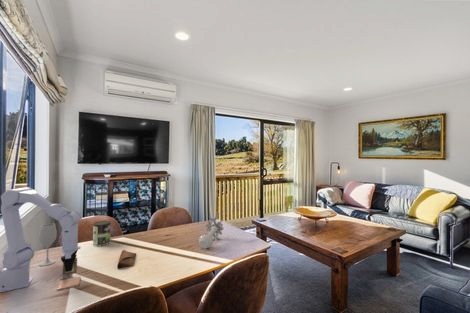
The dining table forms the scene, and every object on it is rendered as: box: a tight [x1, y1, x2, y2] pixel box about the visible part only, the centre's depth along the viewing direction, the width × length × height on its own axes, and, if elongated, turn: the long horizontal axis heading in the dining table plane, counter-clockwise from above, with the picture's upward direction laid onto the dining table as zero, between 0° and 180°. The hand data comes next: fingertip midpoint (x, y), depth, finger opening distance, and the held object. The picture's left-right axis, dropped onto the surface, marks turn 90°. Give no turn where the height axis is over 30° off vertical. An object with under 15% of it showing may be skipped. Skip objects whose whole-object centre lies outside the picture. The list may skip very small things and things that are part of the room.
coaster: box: [56, 275, 81, 291], centre depth 103 cm, size 8×8×1 cm
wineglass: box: [38, 222, 58, 267], centre depth 123 cm, size 8×8×21 cm
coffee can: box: [92, 220, 112, 247], centre depth 152 cm, size 10×10×14 cm
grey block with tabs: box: [59, 268, 69, 281], centre depth 111 cm, size 3×12×6 cm, turn 32°
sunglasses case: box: [117, 249, 137, 270], centre depth 127 cm, size 18×7×7 cm, turn 22°
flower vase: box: [198, 216, 224, 250], centre depth 154 cm, size 13×18×25 cm
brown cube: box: [62, 257, 78, 275], centre depth 103 cm, size 5×5×5 cm
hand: (69, 268), depth 103 cm, fingers closed on brown cube, 5 cm apart
